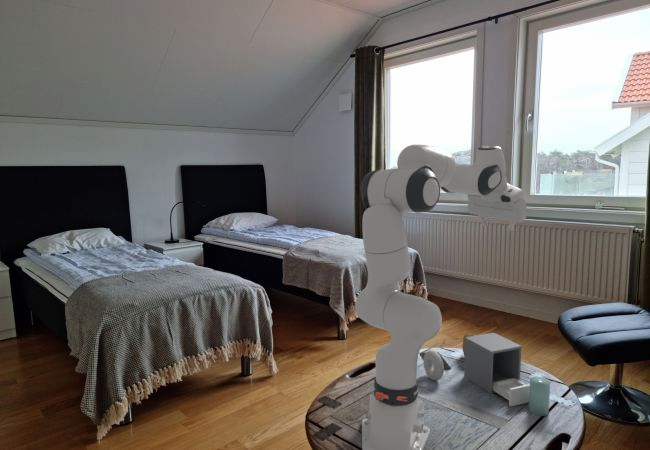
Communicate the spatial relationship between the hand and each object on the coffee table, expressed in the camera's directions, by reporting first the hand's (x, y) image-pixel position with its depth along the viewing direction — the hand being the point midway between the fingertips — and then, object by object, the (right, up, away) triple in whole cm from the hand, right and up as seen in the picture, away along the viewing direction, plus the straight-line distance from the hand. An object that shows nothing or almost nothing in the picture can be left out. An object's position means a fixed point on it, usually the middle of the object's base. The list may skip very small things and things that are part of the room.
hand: (498, 227), depth 158 cm
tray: (-1, -53, -13) cm, 54 cm away
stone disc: (-6, -50, +13) cm, 52 cm away
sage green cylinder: (+3, -54, -23) cm, 59 cm away
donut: (-23, -52, -2) cm, 57 cm away
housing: (-4, -52, -4) cm, 52 cm away
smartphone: (-19, -51, +12) cm, 55 cm away
